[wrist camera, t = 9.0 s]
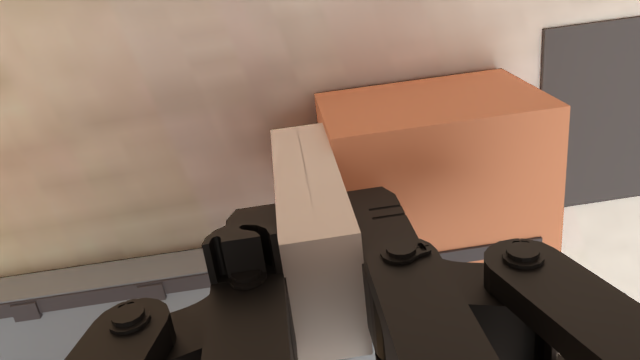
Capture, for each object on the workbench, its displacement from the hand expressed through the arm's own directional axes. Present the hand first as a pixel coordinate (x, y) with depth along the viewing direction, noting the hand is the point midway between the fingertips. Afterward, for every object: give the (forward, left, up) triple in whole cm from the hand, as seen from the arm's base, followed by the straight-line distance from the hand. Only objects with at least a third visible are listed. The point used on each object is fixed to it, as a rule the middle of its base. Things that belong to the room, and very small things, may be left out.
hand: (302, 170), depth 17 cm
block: (+4, -1, -3) cm, 5 cm away
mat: (+12, -1, -3) cm, 12 cm away
